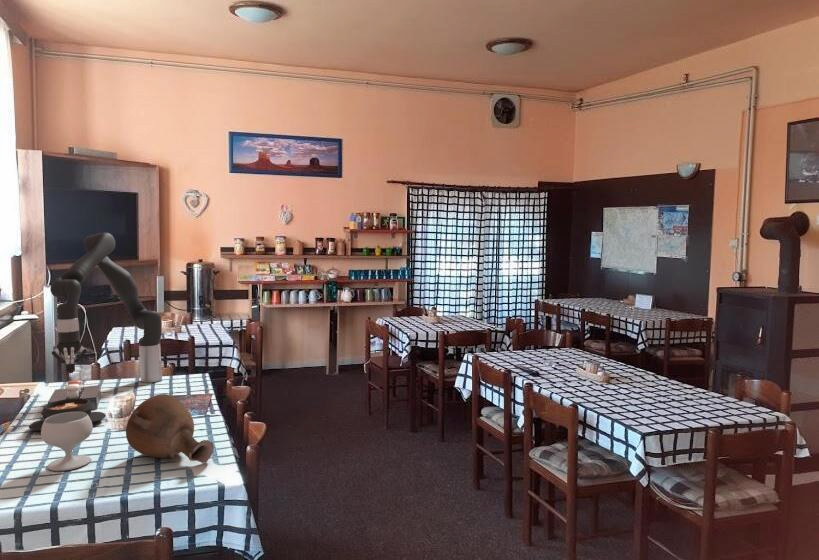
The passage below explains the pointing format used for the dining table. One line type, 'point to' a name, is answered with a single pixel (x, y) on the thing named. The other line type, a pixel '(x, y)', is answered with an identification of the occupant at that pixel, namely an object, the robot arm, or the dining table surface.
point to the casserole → (67, 410)
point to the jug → (165, 430)
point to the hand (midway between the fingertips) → (71, 372)
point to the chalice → (67, 438)
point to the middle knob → (76, 383)
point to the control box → (80, 395)
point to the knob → (72, 391)
